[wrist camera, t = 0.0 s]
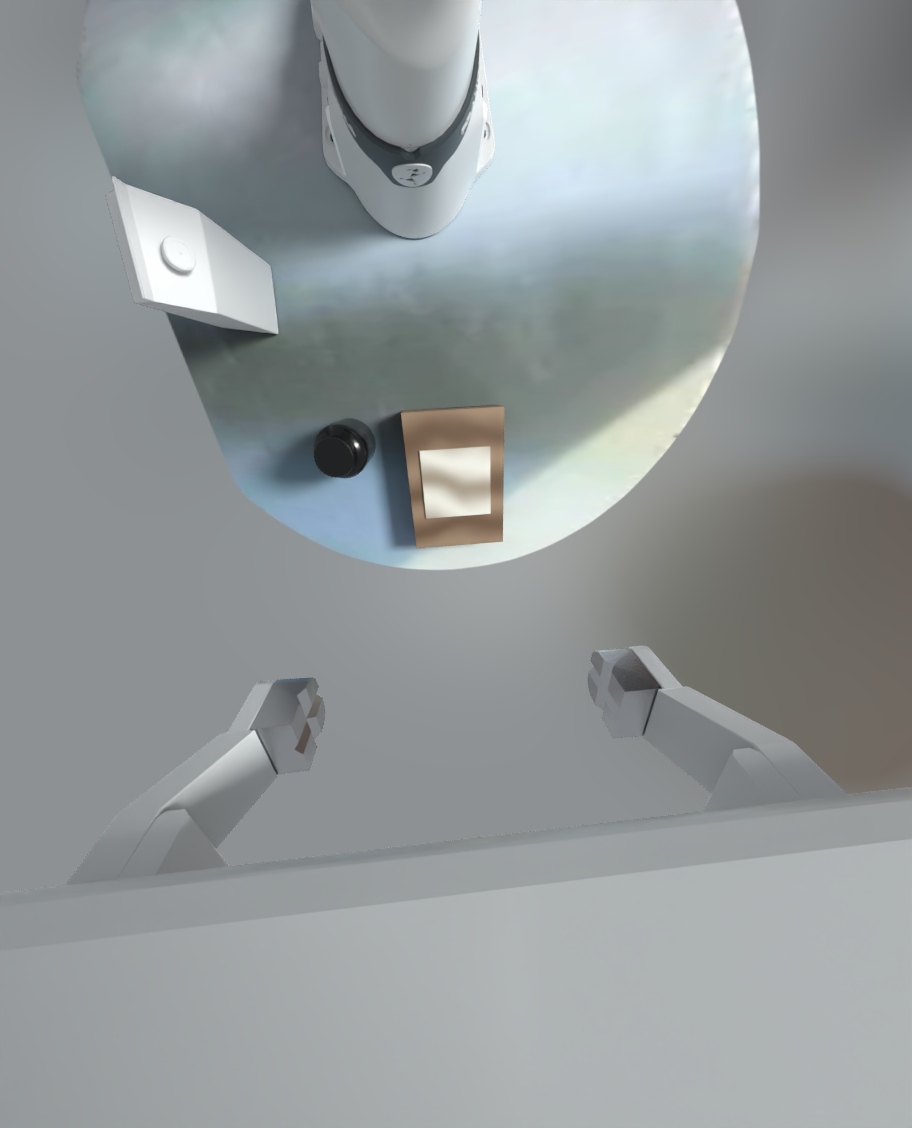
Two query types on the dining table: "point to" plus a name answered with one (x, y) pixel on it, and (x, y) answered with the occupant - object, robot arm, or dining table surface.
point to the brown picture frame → (455, 474)
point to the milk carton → (189, 263)
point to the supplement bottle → (344, 448)
